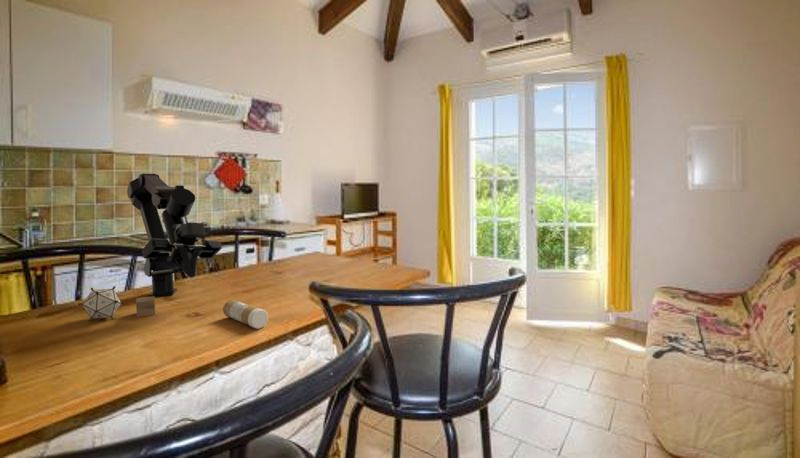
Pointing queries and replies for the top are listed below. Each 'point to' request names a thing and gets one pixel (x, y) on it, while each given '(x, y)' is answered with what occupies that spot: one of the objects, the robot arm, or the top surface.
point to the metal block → (145, 306)
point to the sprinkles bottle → (245, 314)
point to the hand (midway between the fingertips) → (192, 276)
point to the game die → (101, 303)
